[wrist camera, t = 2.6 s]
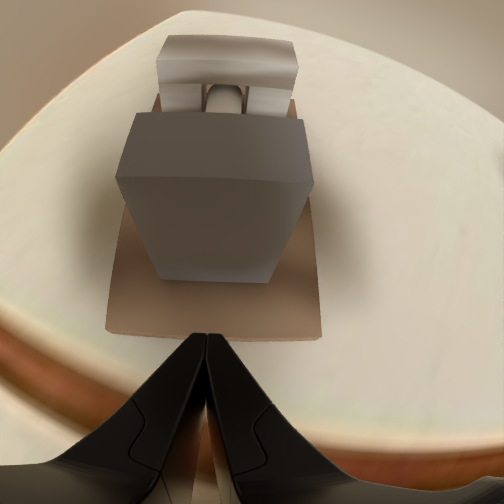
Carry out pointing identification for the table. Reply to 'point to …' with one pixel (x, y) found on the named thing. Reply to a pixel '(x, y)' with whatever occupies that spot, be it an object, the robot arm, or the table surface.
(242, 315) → the frame
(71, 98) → the table surface
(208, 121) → the block
